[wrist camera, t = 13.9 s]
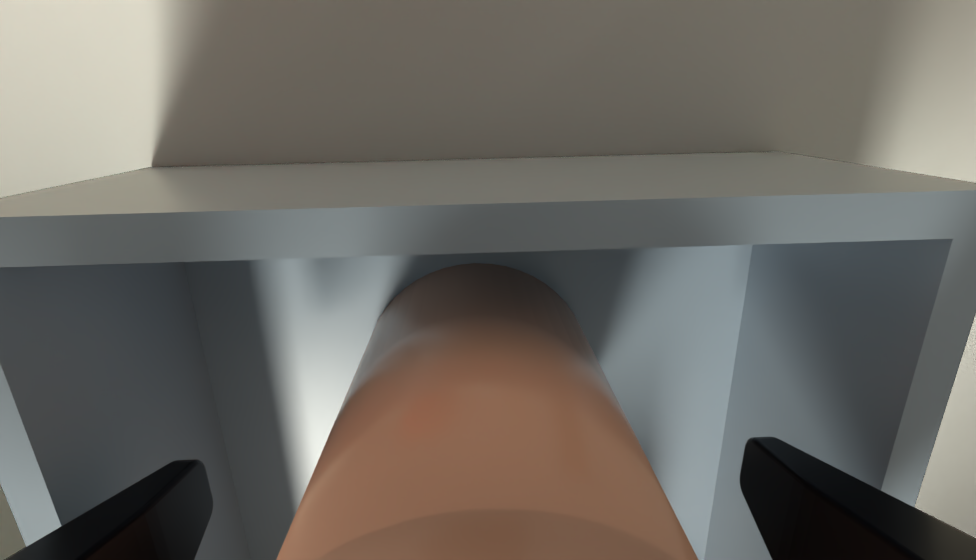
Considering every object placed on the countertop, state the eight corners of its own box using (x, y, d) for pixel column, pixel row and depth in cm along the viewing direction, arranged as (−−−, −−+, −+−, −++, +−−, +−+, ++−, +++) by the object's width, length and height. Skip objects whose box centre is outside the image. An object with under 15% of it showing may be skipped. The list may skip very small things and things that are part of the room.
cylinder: (591, 259, 11) (779, 495, 4) (582, 454, 13) (709, 845, 6) (356, 266, 11) (179, 522, 4) (377, 463, 12) (274, 872, 6)
